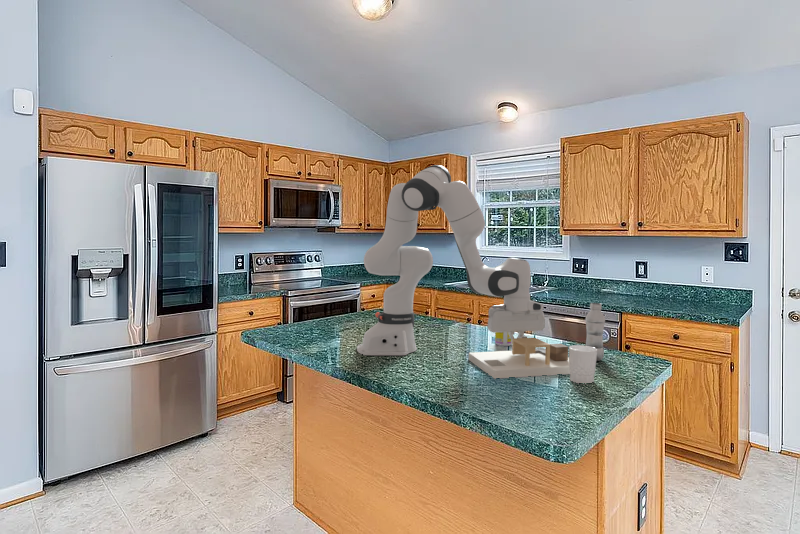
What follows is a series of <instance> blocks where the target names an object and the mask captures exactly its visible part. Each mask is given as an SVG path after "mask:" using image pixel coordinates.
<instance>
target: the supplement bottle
mask: <svg viewBox="0 0 800 534" xmlns="http://www.w3.org/2000/svg"><path fill="white" fill-rule="evenodd" d="M494 337H495V339H494V341H495V345H497V346H500V347H509V346H512V344H511V338H510V336H509V334H508V332H495V334H494Z"/></svg>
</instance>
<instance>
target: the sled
mask: <svg viewBox="0 0 800 534" xmlns="http://www.w3.org/2000/svg"><path fill="white" fill-rule="evenodd" d="M522 338H528V336H526V335H525V334H524V335H523V337H522ZM549 344H550V359H552V360H554V361H565V360H568V357H569V346H568V345H565V344H562V343H549ZM535 352H540V353H542V354H544V355H545V352H546V348H545V347H540V348H535Z"/></svg>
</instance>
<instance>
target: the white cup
mask: <svg viewBox="0 0 800 534" xmlns="http://www.w3.org/2000/svg"><path fill="white" fill-rule="evenodd" d="M568 357H569V371H570V374H569V381H571V382H572V381H573V382H572V383H575V382H576V384H579V383H585V384H584V385H587V384H586V383H592V382H594V383H595V374H596V365H597V361H596V357H597V349H596V348H594V347H590V346H586V345H582V344H580V345H579V344H578V345H577V344H575V345H573V344H572V345H570V346H568ZM592 384H593V383H592Z"/></svg>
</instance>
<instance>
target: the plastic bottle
mask: <svg viewBox="0 0 800 534" xmlns="http://www.w3.org/2000/svg"><path fill="white" fill-rule="evenodd" d="M589 309H590V310H589V311H588V313H587V314H586V316H585V326H586V327H585V328H586V340H585V346H590V347H594V348H596V349H597V357H596V362H597V361H599V362H601V361H603V359H604V354H605V352H604V341H603V339H604V338H603V337H604V329H605V323H606V317H605V315H604V313H603V312H602V310H603V309H602V303H598V302H590V305H589Z"/></svg>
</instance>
